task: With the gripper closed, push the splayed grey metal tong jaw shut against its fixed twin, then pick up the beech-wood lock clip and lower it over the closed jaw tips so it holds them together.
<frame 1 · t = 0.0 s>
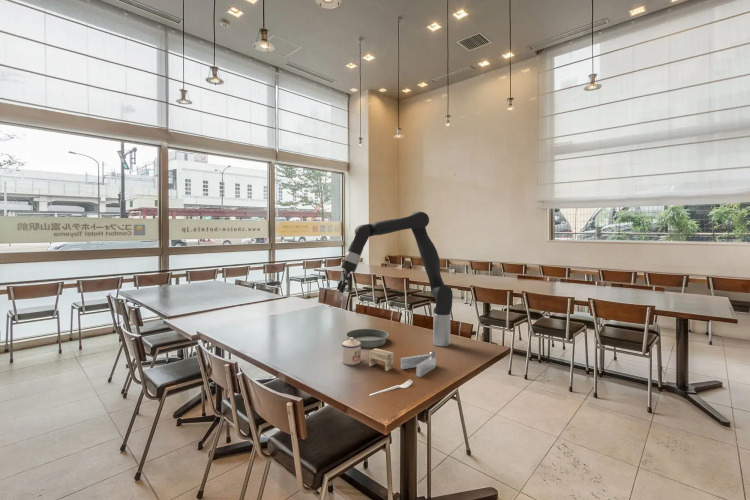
hand: (339, 290, 184), 31 cm above the table, tool tilted 20°, fingers open, 8 cm apart
teacup with lid: (353, 361, 172), on the table
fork: (391, 390, 141), on the table
cake pan: (366, 342, 203), on the table
fixed jaw: (426, 371, 159), on the table
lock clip: (380, 366, 164), on the table
moving jaw: (418, 360, 164), point 3 cm above the table, hinge at -30.0°
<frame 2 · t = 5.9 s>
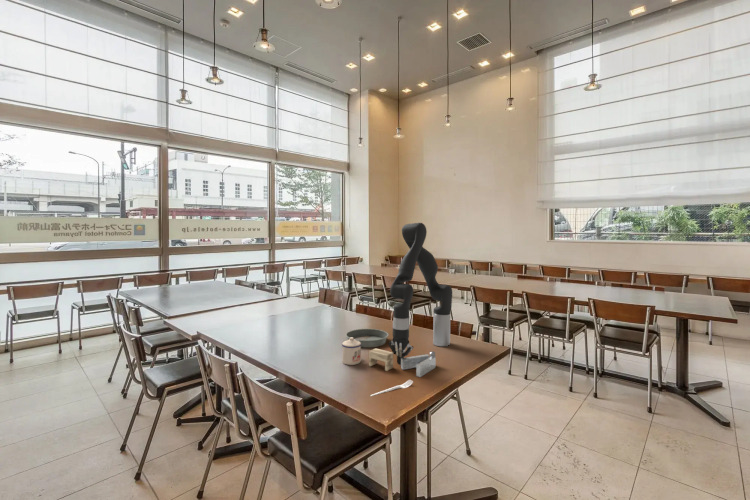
hand: (400, 364, 165), 1 cm above the table, tool pointing down, fingers closed
moving jaw: (418, 360, 164), point 3 cm above the table, hinge at -28.5°, touching gripper
everything else where it was.
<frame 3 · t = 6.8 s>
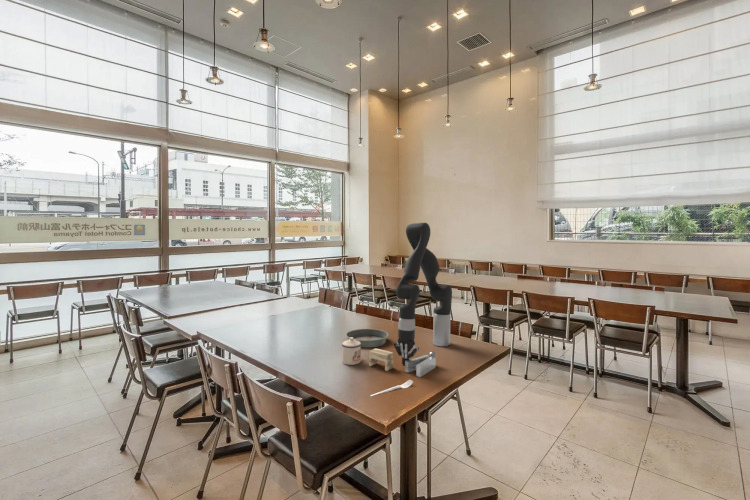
hand: (405, 365, 162), 1 cm above the table, tool pointing down, fingers closed
moving jaw: (421, 361, 162), point 3 cm above the table, hinge at -14.2°, touching gripper
everything else where it was.
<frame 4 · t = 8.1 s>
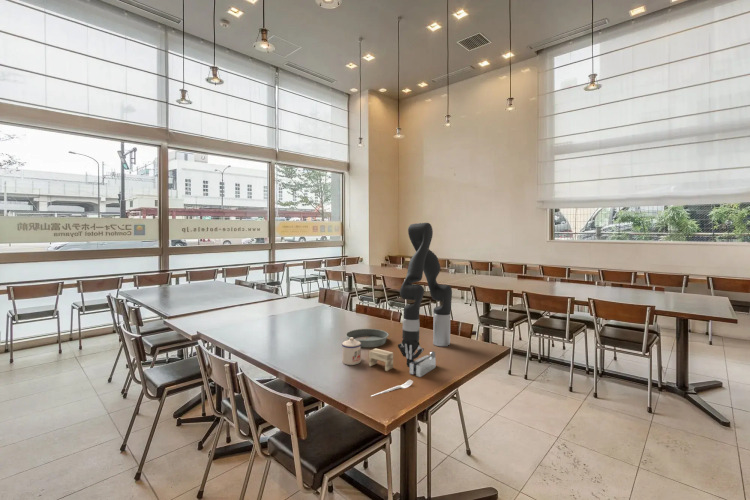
hand: (410, 366, 161), 1 cm above the table, tool pointing down, fingers closed
moving jaw: (423, 362, 161), point 3 cm above the table, hinge at -3.3°, touching gripper
everything else where it was.
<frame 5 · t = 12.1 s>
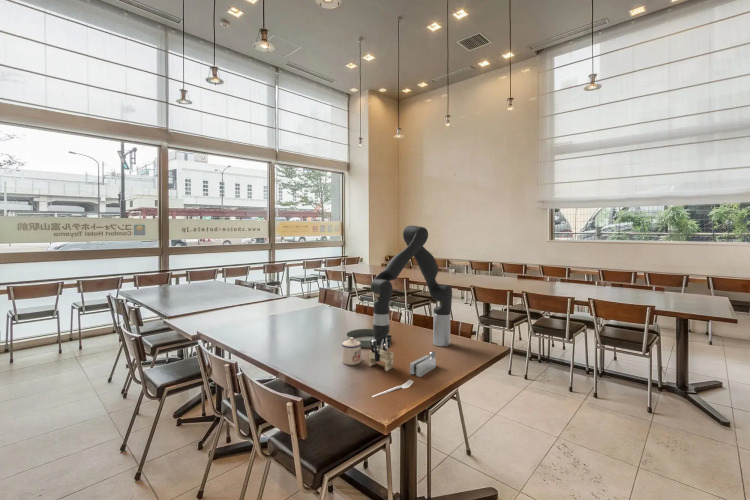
hand: (380, 359, 164), 3 cm above the table, tool pointing down, fingers closed on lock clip, 5 cm apart
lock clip: (380, 366, 164), on the table, touching gripper
moving jaw: (423, 362, 161), point 3 cm above the table, hinge at -2.7°
everything else where it was.
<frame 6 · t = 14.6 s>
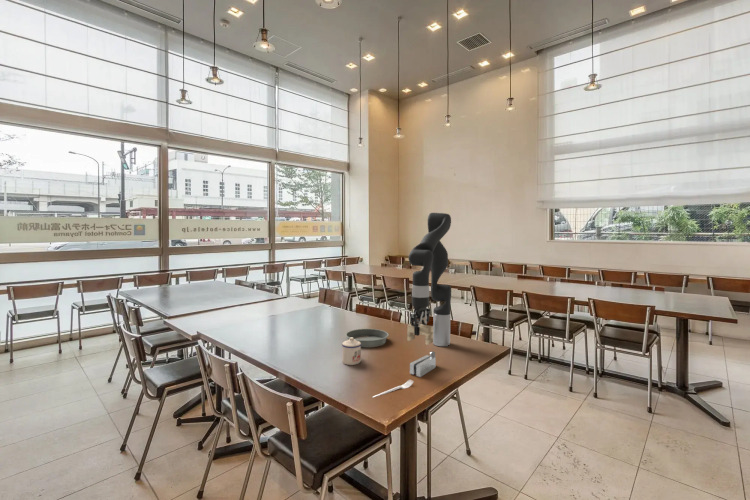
hand: (420, 333, 157), 17 cm above the table, tool pointing down, fingers closed on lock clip, 5 cm apart
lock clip: (420, 341, 157), point 14 cm above the table, touching gripper
when the fingers open (6 cm above the table, at t = 17.3 s): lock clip drops 1 cm, resting on fixed jaw, moving jaw.
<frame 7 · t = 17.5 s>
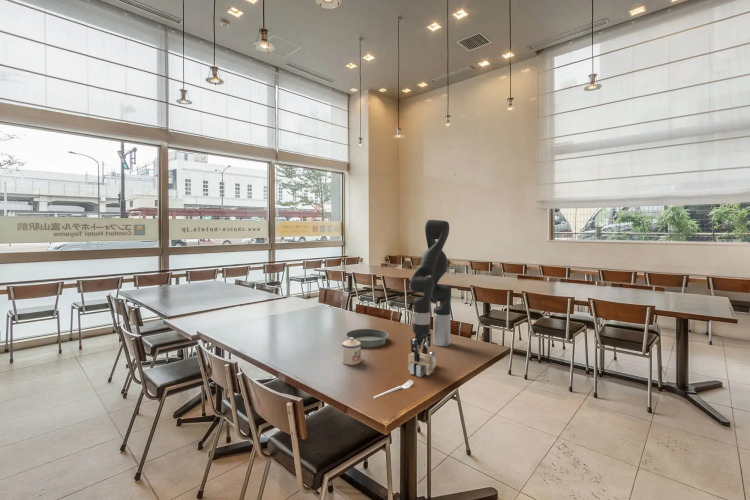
hand: (421, 359, 157), 6 cm above the table, tool pointing down, fingers open, 6 cm apart
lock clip: (420, 370, 158), point 1 cm above the table, touching fixed jaw, moving jaw
moving jaw: (423, 362, 161), point 3 cm above the table, hinge at -2.7°, touching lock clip
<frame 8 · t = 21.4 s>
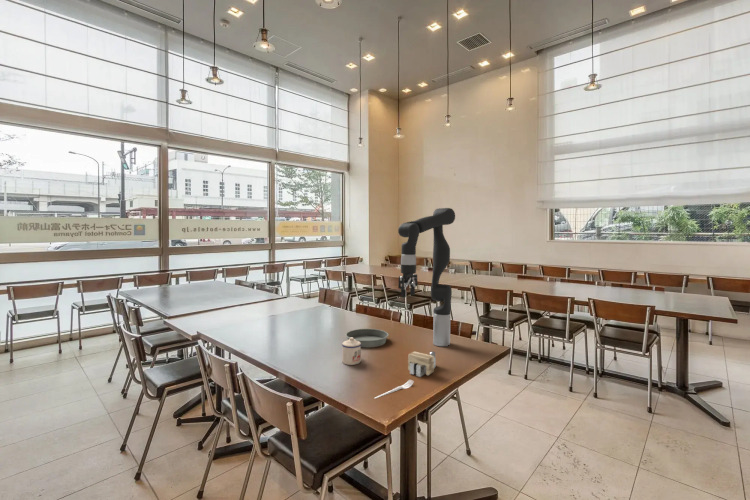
hand: (408, 296, 178), 30 cm above the table, tool pointing down, fingers open, 8 cm apart
at the end: moving jaw at -3° (first picture: -30°); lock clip inside the target area (0.0 cm from its centre), point 0.8 cm above the table; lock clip tilted 0° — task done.
